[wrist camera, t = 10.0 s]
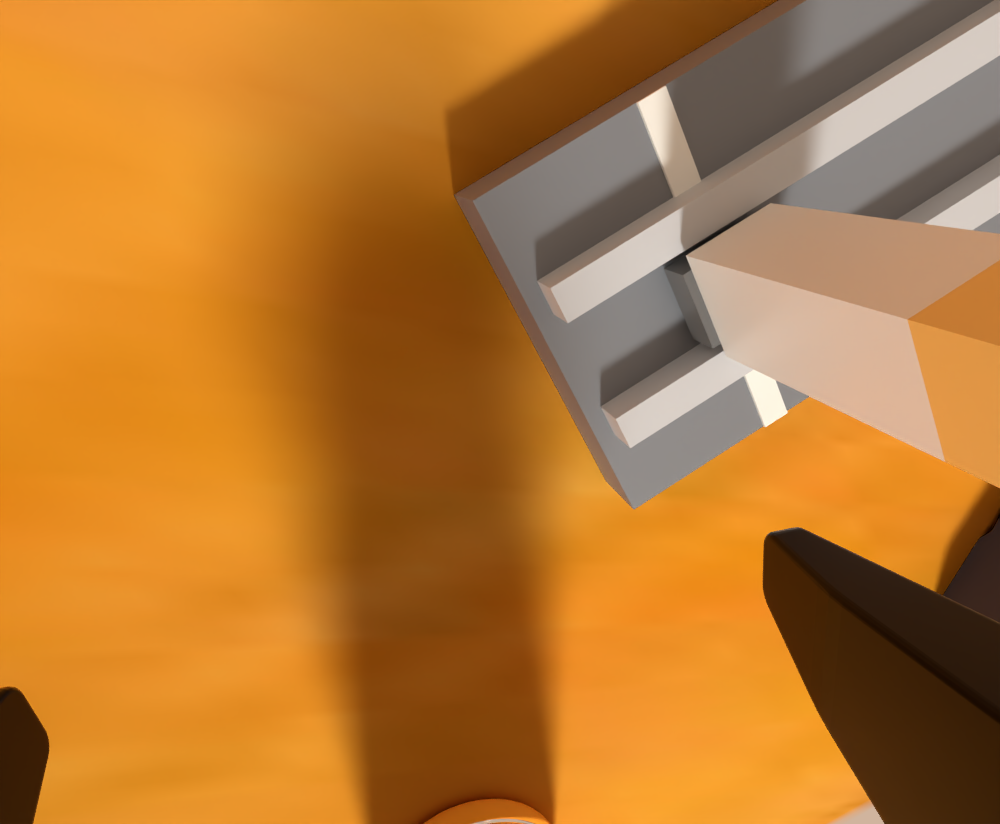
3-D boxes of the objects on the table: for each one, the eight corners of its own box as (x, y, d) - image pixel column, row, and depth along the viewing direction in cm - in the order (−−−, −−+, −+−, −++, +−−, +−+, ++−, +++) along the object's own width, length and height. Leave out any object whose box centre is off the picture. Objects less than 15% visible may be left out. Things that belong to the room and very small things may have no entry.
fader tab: (698, 351, 20) (1039, 522, 11) (658, 255, 19) (1006, 362, 10) (789, 294, 21) (1194, 417, 12) (755, 194, 19) (1182, 246, 10)
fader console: (605, 480, 24) (649, 525, 21) (454, 194, 19) (483, 204, 17) (1059, 190, 25) (1156, 197, 22) (1010, -140, 21) (1122, -181, 18)
